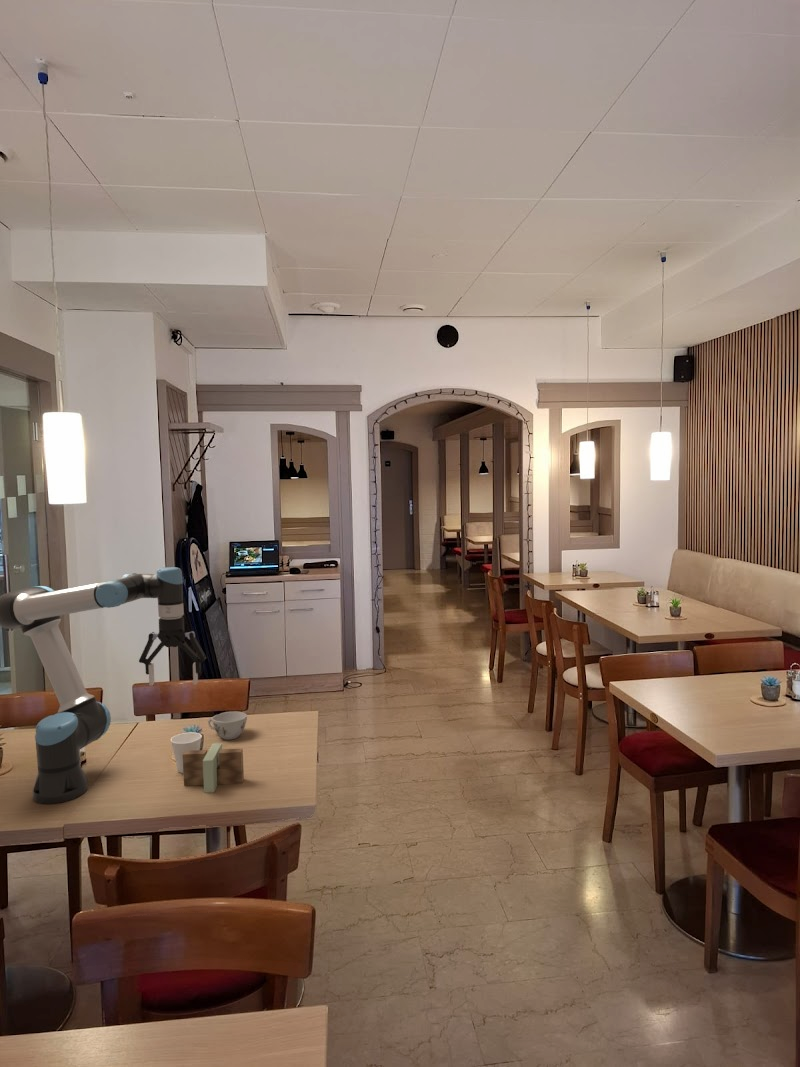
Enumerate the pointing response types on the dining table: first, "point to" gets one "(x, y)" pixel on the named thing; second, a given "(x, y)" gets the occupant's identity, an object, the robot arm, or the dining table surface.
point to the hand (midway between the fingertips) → (173, 683)
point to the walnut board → (226, 770)
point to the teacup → (229, 724)
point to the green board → (211, 767)
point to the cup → (184, 746)
